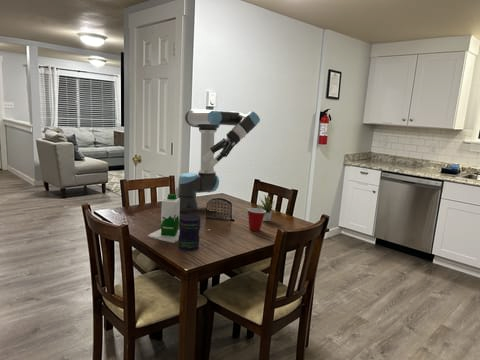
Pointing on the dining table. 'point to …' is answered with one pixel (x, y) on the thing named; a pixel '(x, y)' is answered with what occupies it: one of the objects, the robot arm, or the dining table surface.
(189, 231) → the storage jar
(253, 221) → the plastic cup
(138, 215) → the dining table surface
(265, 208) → the house plant
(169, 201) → the soya milk
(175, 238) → the plate
